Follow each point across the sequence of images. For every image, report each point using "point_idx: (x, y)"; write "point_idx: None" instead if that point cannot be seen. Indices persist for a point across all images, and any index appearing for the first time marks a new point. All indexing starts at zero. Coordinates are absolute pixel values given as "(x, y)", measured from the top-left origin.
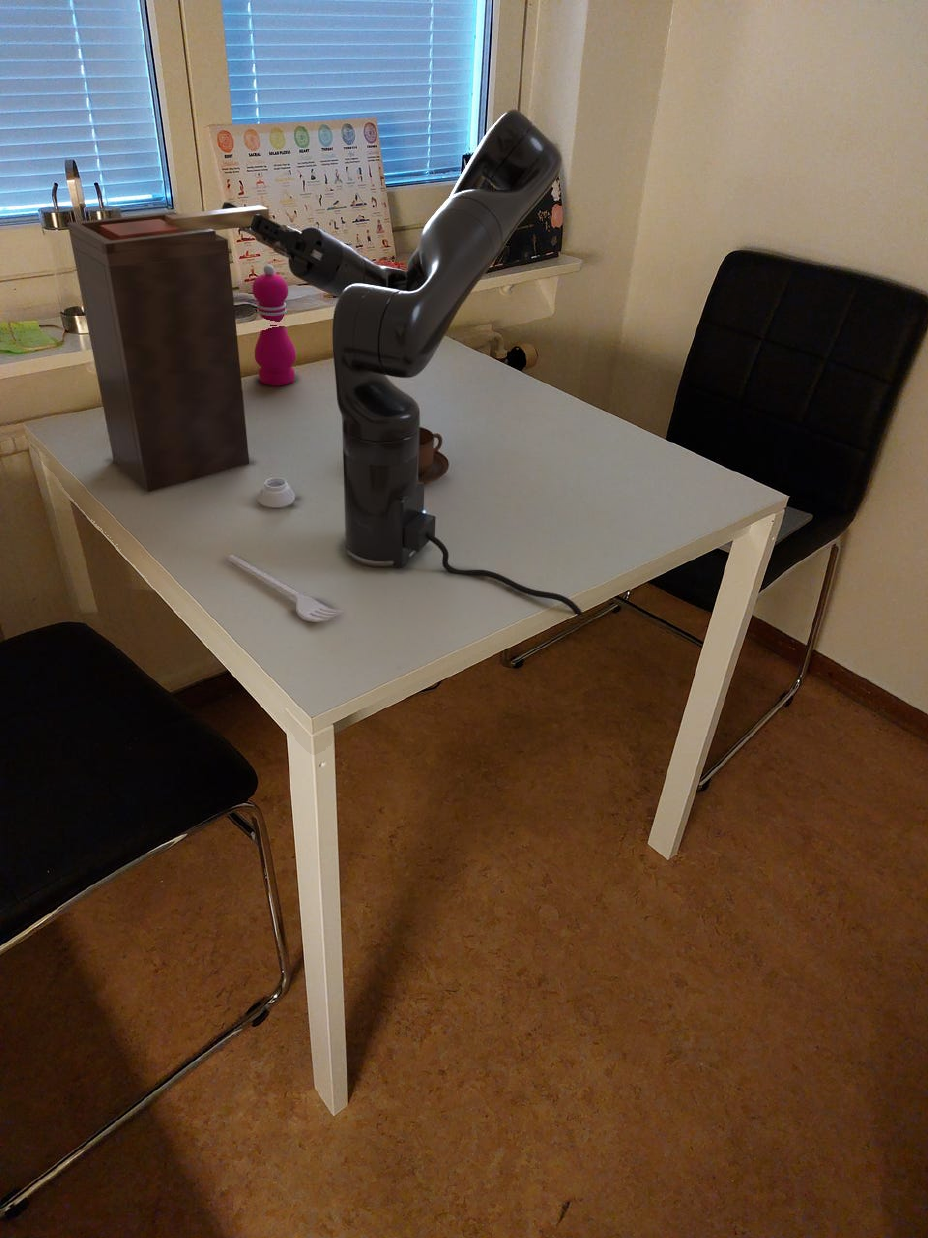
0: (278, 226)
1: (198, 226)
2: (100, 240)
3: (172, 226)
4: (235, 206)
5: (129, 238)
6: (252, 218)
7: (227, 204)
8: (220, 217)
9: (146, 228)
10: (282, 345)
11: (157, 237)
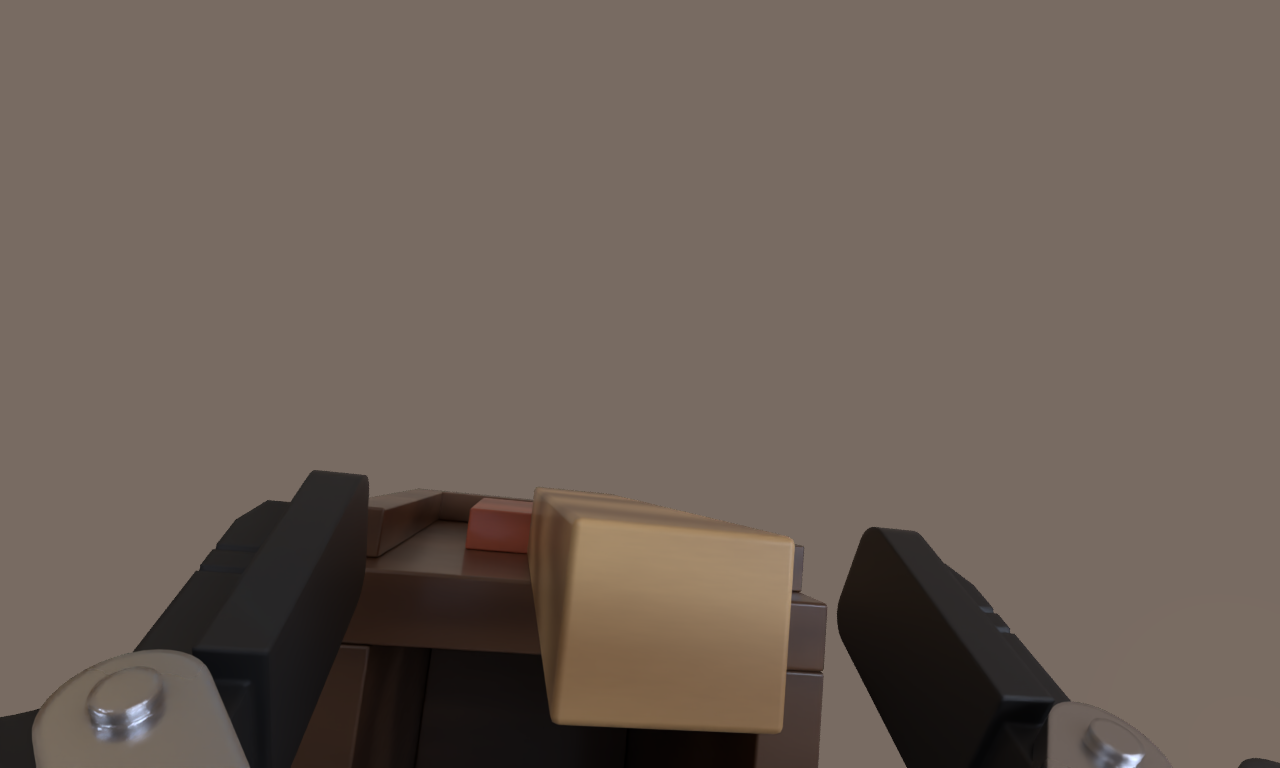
0: (205, 646)
1: (532, 541)
2: (457, 492)
3: (517, 511)
4: (906, 574)
5: (435, 494)
6: (547, 582)
7: (863, 539)
8: (540, 517)
9: (530, 507)
10: None
11: (392, 493)
